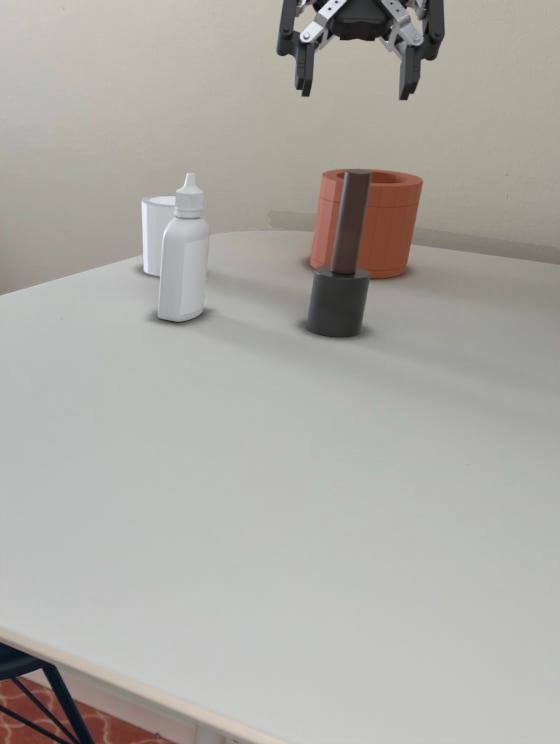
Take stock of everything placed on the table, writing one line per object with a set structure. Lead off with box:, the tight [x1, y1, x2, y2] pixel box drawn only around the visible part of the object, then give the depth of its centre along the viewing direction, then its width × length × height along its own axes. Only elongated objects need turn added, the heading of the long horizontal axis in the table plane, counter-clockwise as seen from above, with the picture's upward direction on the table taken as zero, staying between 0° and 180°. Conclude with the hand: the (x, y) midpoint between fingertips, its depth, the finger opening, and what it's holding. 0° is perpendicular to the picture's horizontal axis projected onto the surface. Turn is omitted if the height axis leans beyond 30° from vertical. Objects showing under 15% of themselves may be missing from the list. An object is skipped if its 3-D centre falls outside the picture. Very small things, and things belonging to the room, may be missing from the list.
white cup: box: [141, 194, 208, 278], centre depth 103 cm, size 7×7×7 cm
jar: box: [309, 168, 424, 280], centre depth 106 cm, size 10×10×9 cm
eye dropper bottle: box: [157, 172, 211, 323], centre depth 89 cm, size 4×6×12 cm
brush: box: [306, 168, 372, 338], centre depth 86 cm, size 5×5×13 cm
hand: (356, 92), depth 87 cm, fingers open, 8 cm apart
